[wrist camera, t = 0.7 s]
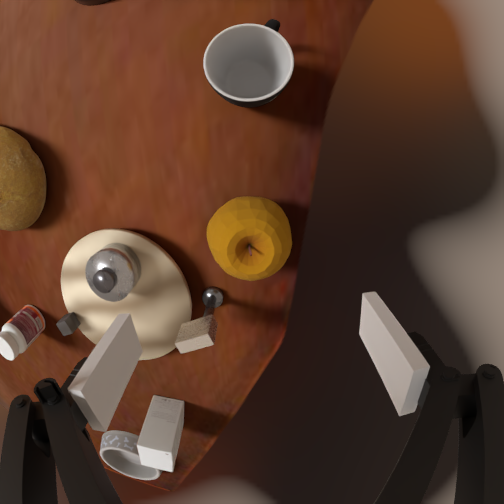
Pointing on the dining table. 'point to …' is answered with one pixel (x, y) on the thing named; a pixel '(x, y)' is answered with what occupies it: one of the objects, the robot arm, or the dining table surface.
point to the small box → (161, 433)
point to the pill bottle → (21, 331)
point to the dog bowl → (125, 455)
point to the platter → (136, 302)
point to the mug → (249, 63)
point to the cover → (113, 272)
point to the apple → (250, 237)
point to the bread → (19, 182)
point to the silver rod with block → (201, 324)
